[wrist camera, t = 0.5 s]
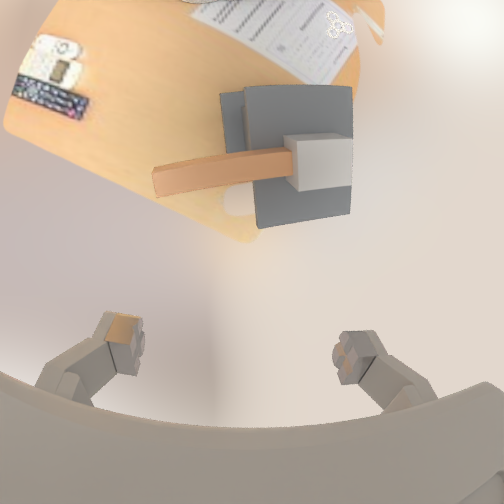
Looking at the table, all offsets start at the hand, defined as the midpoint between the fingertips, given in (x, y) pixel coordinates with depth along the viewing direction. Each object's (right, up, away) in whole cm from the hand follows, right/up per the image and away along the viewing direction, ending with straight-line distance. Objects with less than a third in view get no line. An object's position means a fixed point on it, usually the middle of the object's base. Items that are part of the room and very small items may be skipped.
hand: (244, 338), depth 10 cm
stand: (+1, +27, +40) cm, 48 cm away
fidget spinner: (+19, +51, +30) cm, 62 cm away
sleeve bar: (0, +13, +17) cm, 21 cm away
